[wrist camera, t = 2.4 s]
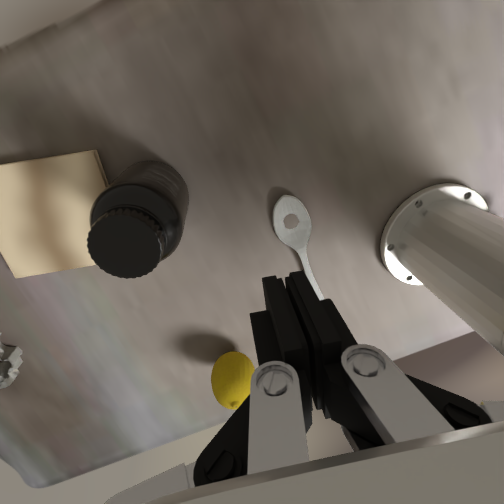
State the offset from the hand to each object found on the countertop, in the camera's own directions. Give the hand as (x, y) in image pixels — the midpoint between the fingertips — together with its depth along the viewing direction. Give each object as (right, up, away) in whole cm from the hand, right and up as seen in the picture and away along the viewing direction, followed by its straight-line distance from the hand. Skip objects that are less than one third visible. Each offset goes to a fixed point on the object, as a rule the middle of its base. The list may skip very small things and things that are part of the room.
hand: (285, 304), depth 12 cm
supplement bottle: (-11, +8, +18) cm, 23 cm away
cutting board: (-21, +6, +18) cm, 28 cm away
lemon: (-4, -12, +29) cm, 32 cm away
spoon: (+5, 0, +25) cm, 26 cm away
